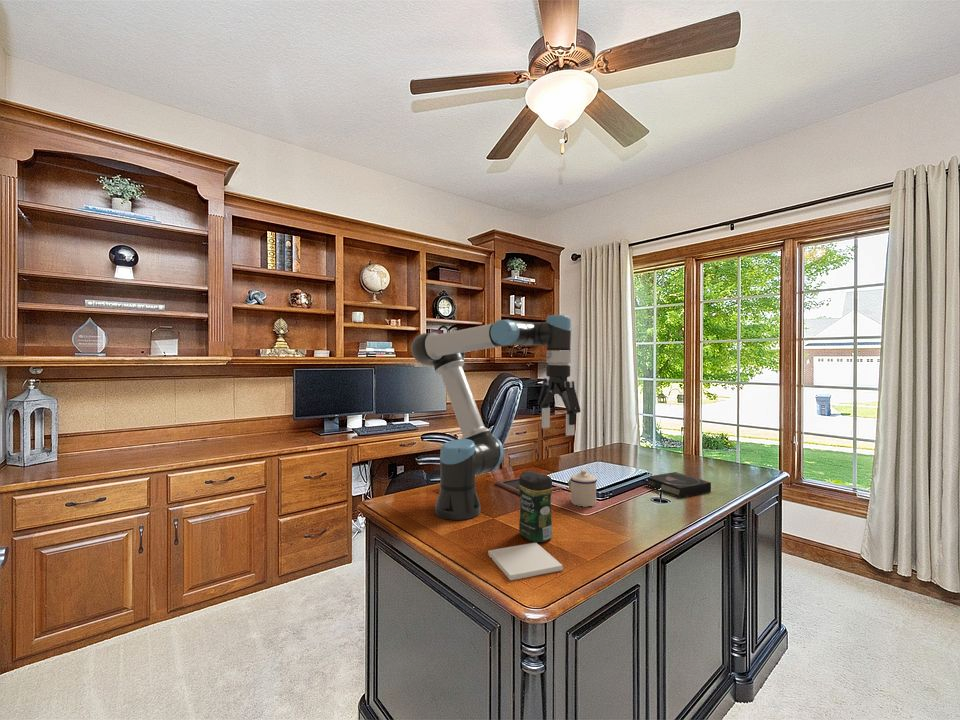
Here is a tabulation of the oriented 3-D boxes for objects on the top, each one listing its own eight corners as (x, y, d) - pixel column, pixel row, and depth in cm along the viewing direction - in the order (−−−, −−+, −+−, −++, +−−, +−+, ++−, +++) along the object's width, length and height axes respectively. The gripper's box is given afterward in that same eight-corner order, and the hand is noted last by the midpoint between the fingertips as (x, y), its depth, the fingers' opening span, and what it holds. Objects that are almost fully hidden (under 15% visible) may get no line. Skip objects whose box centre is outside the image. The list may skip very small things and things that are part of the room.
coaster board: (488, 555, 117) (488, 550, 117) (535, 546, 121) (535, 542, 121) (510, 580, 103) (510, 575, 103) (562, 570, 108) (562, 565, 108)
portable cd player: (644, 486, 177) (644, 476, 177) (675, 481, 184) (675, 472, 184) (678, 499, 162) (678, 488, 162) (710, 492, 169) (710, 482, 169)
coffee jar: (514, 534, 130) (514, 471, 130) (535, 528, 134) (535, 467, 134) (535, 546, 122) (535, 479, 122) (557, 539, 126) (557, 474, 126)
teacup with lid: (602, 504, 155) (602, 471, 155) (583, 509, 150) (583, 475, 150) (578, 495, 165) (578, 464, 165) (559, 499, 161) (559, 467, 161)
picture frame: (525, 499, 162) (576, 488, 175) (525, 494, 162) (576, 483, 175) (495, 485, 179) (543, 476, 192) (495, 480, 179) (543, 472, 192)
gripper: (527, 363, 150) (527, 425, 150) (572, 365, 127) (571, 439, 127) (546, 362, 153) (545, 424, 153) (593, 365, 130) (592, 437, 130)
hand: (557, 431), depth 140 cm, fingers open, 13 cm apart
